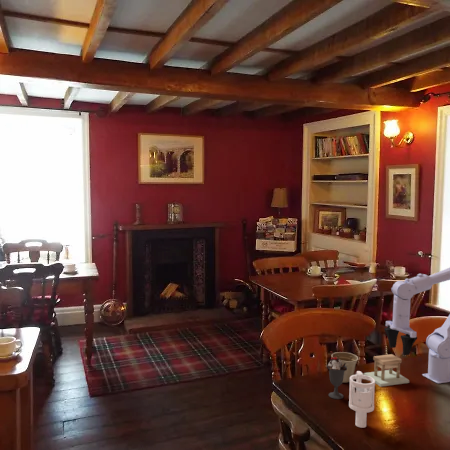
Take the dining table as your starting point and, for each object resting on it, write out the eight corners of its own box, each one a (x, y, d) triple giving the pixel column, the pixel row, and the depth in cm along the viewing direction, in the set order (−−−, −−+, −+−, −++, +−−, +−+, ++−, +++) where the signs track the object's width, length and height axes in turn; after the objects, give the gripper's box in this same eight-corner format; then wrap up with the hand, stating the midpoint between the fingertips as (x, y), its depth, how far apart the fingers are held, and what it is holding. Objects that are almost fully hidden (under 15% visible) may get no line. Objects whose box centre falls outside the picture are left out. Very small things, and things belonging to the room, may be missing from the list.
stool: (372, 375, 168) (373, 356, 168) (391, 372, 171) (391, 354, 170) (382, 380, 163) (383, 361, 163) (400, 378, 166) (401, 359, 165)
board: (391, 372, 174) (391, 369, 173) (409, 382, 164) (409, 380, 164) (363, 375, 170) (363, 373, 170) (380, 386, 160) (380, 383, 160)
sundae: (323, 391, 156) (324, 349, 155) (342, 391, 157) (343, 348, 155) (329, 400, 149) (330, 356, 148) (349, 400, 150) (350, 355, 149)
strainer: (368, 419, 138) (370, 370, 136) (376, 431, 131) (378, 380, 129) (345, 419, 137) (346, 370, 136) (352, 431, 130) (354, 380, 129)
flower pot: (354, 375, 171) (355, 352, 170) (359, 385, 161) (360, 361, 161) (329, 373, 172) (329, 351, 171) (332, 384, 162) (333, 360, 162)
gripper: (379, 309, 171) (377, 345, 172) (405, 320, 158) (403, 358, 159) (395, 308, 174) (393, 343, 175) (422, 319, 160) (420, 357, 161)
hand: (399, 351), depth 167 cm, fingers open, 7 cm apart
